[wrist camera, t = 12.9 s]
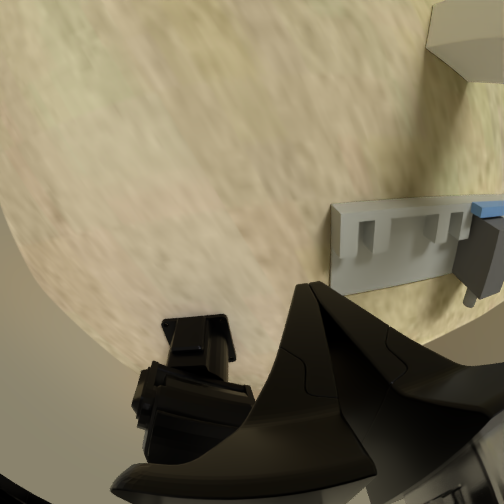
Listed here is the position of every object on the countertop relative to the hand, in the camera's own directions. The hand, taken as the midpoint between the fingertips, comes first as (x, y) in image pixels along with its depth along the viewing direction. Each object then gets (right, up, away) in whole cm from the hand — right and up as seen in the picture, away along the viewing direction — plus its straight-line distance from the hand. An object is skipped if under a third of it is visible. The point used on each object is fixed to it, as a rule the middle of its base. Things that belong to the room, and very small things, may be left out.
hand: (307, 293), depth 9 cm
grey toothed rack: (+17, +3, +14) cm, 22 cm away
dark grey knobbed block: (+22, +1, +15) cm, 27 cm away
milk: (+17, +21, +5) cm, 27 cm away
